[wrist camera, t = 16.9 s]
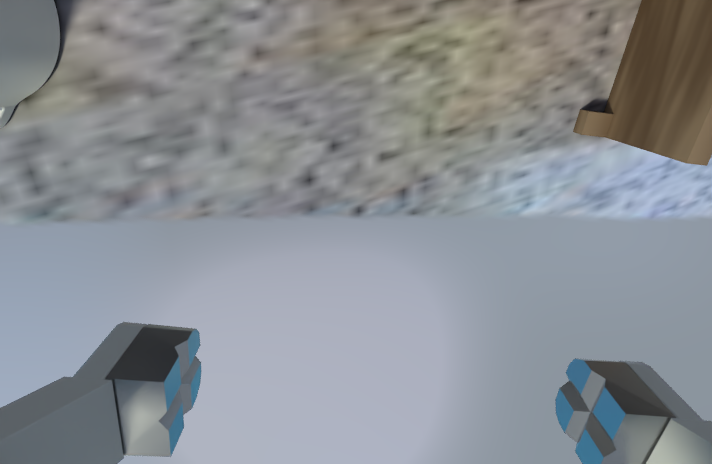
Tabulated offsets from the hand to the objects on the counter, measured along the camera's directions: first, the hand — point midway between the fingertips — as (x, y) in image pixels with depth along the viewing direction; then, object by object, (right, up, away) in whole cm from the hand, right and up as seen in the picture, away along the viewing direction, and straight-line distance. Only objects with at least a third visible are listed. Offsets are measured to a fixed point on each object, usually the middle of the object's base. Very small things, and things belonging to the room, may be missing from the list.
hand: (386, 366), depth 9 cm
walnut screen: (+23, +18, +27) cm, 40 cm away
